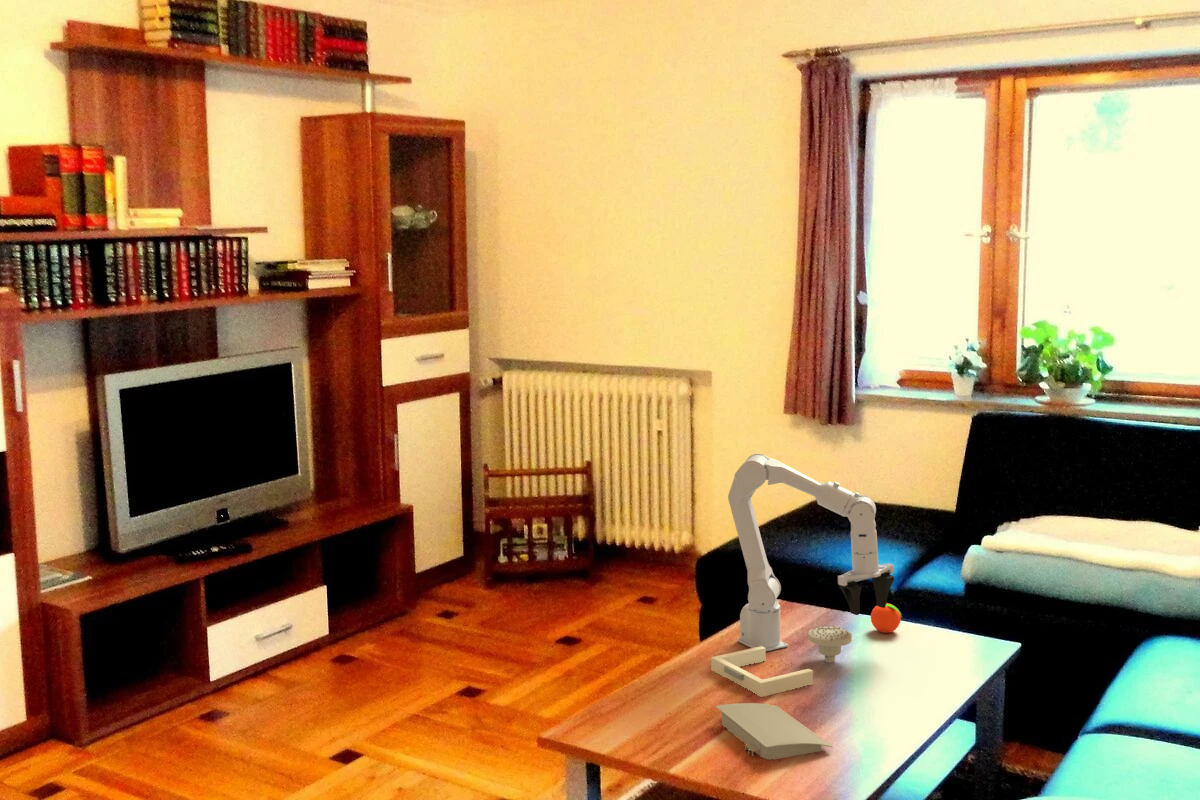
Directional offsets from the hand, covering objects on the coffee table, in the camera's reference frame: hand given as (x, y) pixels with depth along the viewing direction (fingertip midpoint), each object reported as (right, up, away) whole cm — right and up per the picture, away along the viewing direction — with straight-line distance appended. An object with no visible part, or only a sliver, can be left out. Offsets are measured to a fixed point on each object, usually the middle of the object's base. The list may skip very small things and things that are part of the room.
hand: (868, 610), depth 274 cm
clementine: (+8, -8, +15) cm, 19 cm away
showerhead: (-9, -11, -3) cm, 15 cm away
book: (-28, -17, -43) cm, 54 cm away
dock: (-25, -12, -12) cm, 31 cm away
